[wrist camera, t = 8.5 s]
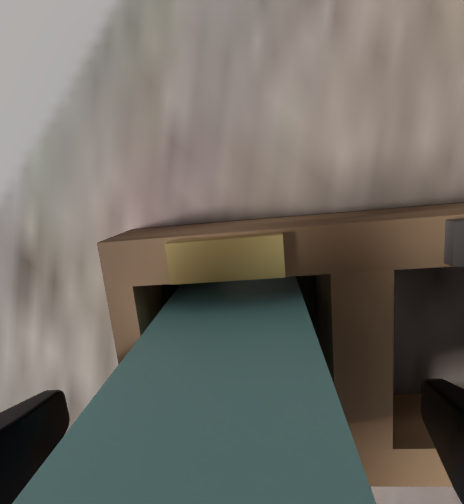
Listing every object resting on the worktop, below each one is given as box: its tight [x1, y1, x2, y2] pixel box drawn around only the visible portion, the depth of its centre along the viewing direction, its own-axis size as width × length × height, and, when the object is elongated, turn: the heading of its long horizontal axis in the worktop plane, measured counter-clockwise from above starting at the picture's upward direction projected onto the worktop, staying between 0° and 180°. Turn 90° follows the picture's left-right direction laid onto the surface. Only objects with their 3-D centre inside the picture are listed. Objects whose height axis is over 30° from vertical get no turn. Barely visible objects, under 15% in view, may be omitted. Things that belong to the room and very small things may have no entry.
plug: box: [12, 276, 376, 504], centre depth 8 cm, size 4×4×9 cm
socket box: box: [97, 203, 464, 486], centre depth 10 cm, size 14×8×3 cm, turn 95°
